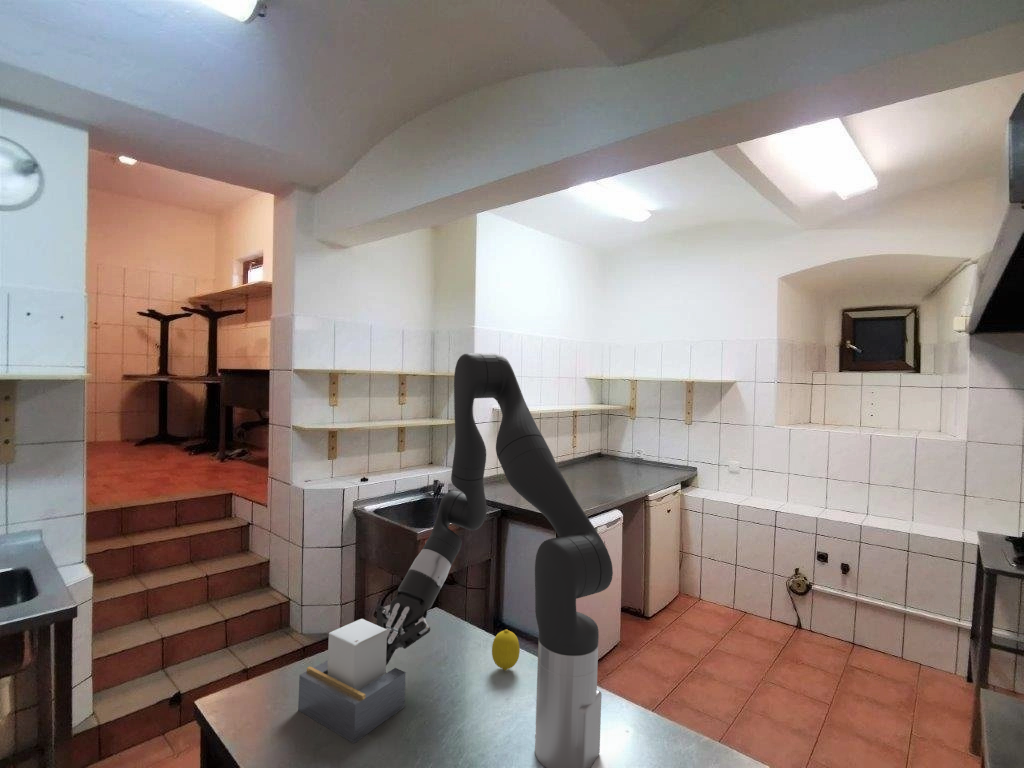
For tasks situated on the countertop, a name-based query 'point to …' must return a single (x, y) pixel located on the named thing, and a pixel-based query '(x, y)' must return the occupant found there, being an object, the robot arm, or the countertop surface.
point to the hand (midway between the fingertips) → (377, 665)
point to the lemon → (505, 649)
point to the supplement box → (357, 653)
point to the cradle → (350, 701)
